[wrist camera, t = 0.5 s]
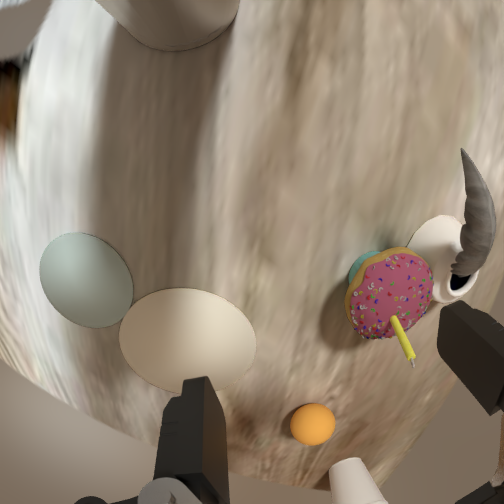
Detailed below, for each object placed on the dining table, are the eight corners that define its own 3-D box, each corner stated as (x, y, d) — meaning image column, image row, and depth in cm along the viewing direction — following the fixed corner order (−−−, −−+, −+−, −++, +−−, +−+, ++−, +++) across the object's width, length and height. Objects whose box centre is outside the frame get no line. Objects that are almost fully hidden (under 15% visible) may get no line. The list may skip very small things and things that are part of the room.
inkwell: (412, 308, 32) (461, 363, 23) (354, 163, 25) (422, 189, 16) (470, 264, 31) (525, 307, 22) (430, 119, 24) (508, 129, 15)
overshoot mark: (24, 253, 25) (23, 254, 24) (103, 216, 24) (102, 216, 24) (72, 335, 29) (72, 336, 28) (151, 312, 28) (151, 313, 28)
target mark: (94, 311, 28) (94, 312, 28) (228, 267, 27) (228, 268, 27) (158, 402, 33) (158, 404, 33) (272, 374, 33) (272, 375, 33)
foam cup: (313, 480, 46) (328, 536, 35) (330, 457, 43) (350, 520, 31) (357, 473, 48) (376, 524, 36) (377, 449, 45) (401, 506, 33)
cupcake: (357, 323, 32) (407, 406, 21) (311, 272, 29) (362, 361, 18) (418, 270, 30) (488, 336, 19) (382, 211, 27) (466, 269, 16)
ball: (282, 403, 35) (290, 438, 30) (325, 389, 35) (338, 422, 30) (291, 425, 38) (299, 457, 32) (331, 412, 37) (342, 443, 32)
